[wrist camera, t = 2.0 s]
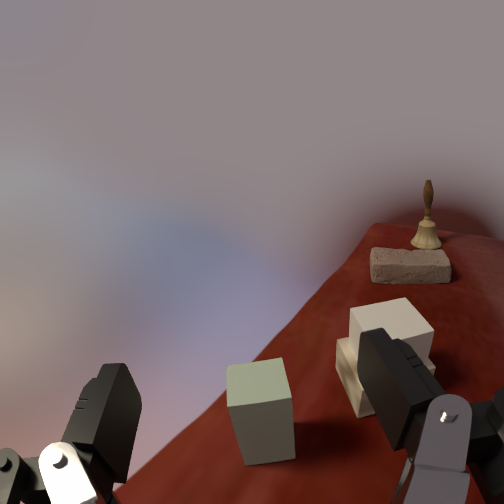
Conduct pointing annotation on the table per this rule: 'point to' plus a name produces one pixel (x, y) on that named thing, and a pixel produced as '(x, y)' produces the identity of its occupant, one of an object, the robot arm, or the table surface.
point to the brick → (409, 266)
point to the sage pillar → (261, 411)
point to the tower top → (392, 325)
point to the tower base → (356, 378)
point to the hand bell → (427, 224)
